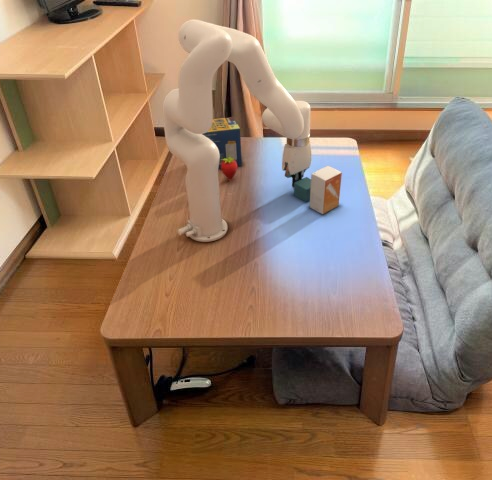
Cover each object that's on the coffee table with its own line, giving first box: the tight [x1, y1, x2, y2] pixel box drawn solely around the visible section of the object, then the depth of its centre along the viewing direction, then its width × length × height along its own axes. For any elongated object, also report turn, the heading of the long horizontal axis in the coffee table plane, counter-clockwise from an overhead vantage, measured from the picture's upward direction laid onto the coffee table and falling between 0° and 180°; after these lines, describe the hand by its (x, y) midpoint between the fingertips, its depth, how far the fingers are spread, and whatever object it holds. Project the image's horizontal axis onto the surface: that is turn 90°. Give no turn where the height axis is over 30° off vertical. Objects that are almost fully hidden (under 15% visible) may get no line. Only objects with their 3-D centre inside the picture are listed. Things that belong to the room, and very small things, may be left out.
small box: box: [309, 165, 343, 215], centre depth 160 cm, size 8×6×13 cm
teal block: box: [293, 176, 311, 203], centre depth 168 cm, size 6×6×5 cm
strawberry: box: [221, 156, 238, 181], centre depth 174 cm, size 6×8×10 cm
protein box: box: [202, 116, 243, 170], centre depth 183 cm, size 10×15×16 cm
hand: (296, 187), depth 171 cm, fingers closed
